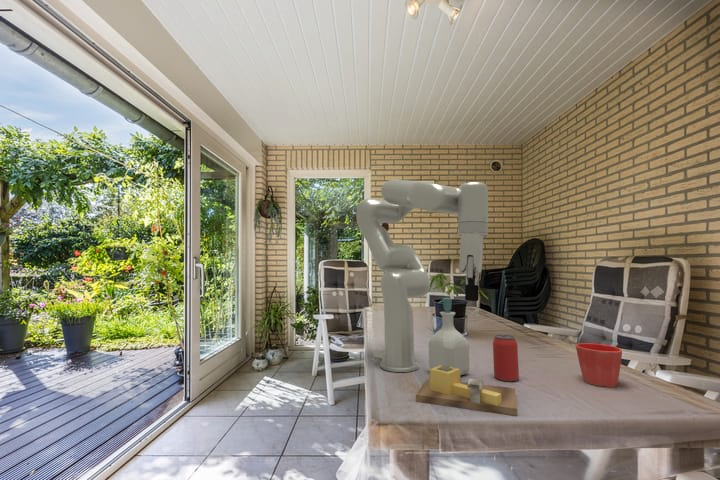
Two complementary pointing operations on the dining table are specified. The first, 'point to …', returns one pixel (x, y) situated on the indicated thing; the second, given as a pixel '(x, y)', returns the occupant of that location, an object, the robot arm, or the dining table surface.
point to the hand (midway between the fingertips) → (471, 300)
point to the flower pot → (599, 363)
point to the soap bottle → (449, 343)
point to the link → (458, 385)
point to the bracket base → (474, 401)
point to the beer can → (505, 358)
